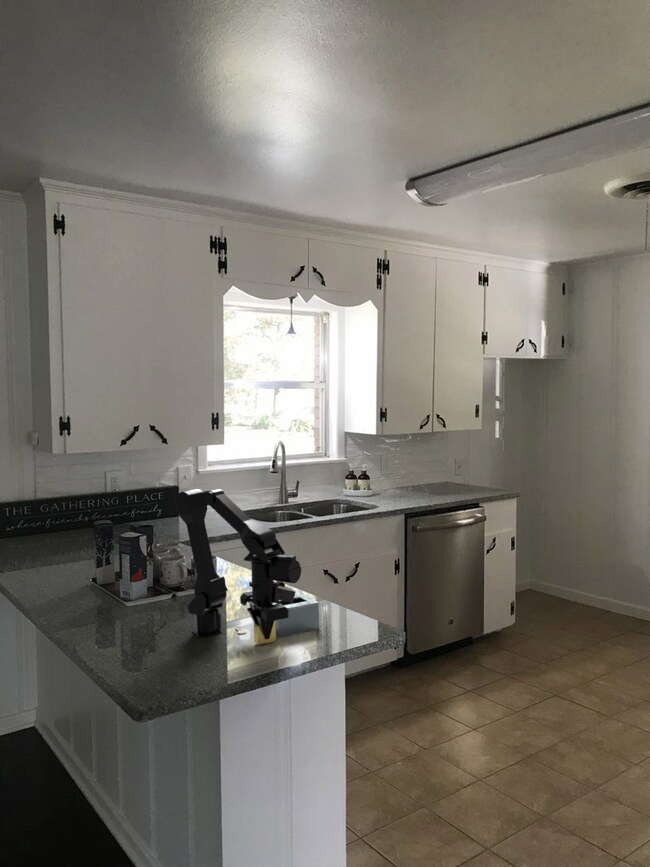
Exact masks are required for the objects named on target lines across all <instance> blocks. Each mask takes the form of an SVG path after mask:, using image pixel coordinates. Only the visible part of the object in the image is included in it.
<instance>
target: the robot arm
mask: <svg viewBox="0 0 650 867" xmlns="http://www.w3.org/2000/svg"><path fill="white" fill-rule="evenodd" d="M174 505H175V508H176V511H177V514H178V516H179V518H181V520H182V522H184V524H186V528H187V534H188V538H189V544H190V549H191V552H192V558H193V562H194V567H195V572H196V580H195V583H194V586H193V590H194V592H193V593H194V598H193V599H192V600H191V601H190V602H189V603H188V604H187V609H188V613H189V614H191V615H192V616H193V628H192V629H191V630H192V631H191V632H192V633H194V634H195V635H196V636H197V637H198V638H205V637H209V636H213V635H214V636H215V635H218V634H219V635H220V634H222V632H223V631H222V621H221V620H222V619H221V618H222V617H221V613H220V612H219V610H220V609H221V608H222V607H223V604H224V602H225V601H226V600H225V599H226V598H227V592H228V591H229V590H228V588H227V585H226V578H225V577H224V576H223V575H222V576H220V575H219V574H218V573H217V572H216V569H215V564H214V560H213V559H214V558H213V555H212V550H211V545H210V541H209V536H208V532H207V527H206V522H205V520H206V515H207V512H208V506H209V507H210V508H212V510H214V511H215V512H216V513H217V514H218V515H219V516H220V517H221V518H222V519H223V520H224V521H225V522H226V523H227V524H228V525H229V526H230V527H232V528H233V530H235V531H236V533H238V535H239V536H240V540H241V543H242V544H243V546H244V547H245V548H246V550H247V551H248V554H247V555H246V556H245V557H244V558H243V561H245V562H250V568H251V581H249V582H248V584H249V587H250V588H251V590H250V591H247V592H246V591H245V592H242V594H241V595H239V596H240V597H239V598H240V599H239V602H240V604H241V605H242V606H247V604H249V607H248V608H246V610H247V612H248V614H249V615H250V618H251V619H252V621H253V624H254V623H257V622H259V624H260V627H261V630H262V633H263V635H264V638H265V639H266V640H267V639H269V638H270V635H271V631H272V627H273V624H274V621H275V620H280V619H285V618H289V609H288V608H286V607H285V606H283V605H282V604H274V605H272V604H273V603H279V600H282V601H287V602H289V603H293V600H294V597H295V595H296V594H297V593H296V591H295V590H294V589H292V588H291V587H288V586H286V583H289V584H296V583H298V582H299V580H300V579H301V575H302V567H301V564H300V562H299V561H298V560H297V556H296V555H293V554H292V555H291V554H290V555H286V552H285V551H284V549H283V547H282V545H281V544H280V542H279V541H278V539H277V538H276V537H277V535H276V533H275V532H274V531H273V530H272V529H270V528H268V527H267V526H266V525H265V524H262V523H260V522H257V521H254V520H253V519H252V518H251V517H249V516H248V515H247V514H246V512H244V511H243V510H242V509H241V508H240V507H239V506H238V505H237V504H236V503H234V501H232V500H231V499H230V498H229V497H228V496H227V495H226V494H225V491H224V490H222V489H221V488H215V489H211V490H205V491H202V489H200V488H194V489H193V488H192V489H189V490H184V491H181V492H178V493H177V495H176V496H175V498H174Z"/></svg>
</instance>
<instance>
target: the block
mask: <svg viewBox="0 0 650 867" xmlns="http://www.w3.org/2000/svg"><path fill="white" fill-rule="evenodd" d="M253 634H254V635H253V638H254V643H255V644H256V645H258V646H260V645H265V644H269V643H273V642H274V643H275V642H276V641H277V635H276V628H275V622H274V624H273V627H272V631H271V635H270V638H269V639H267V640H266V639H265V638H264V635H263V633H262V630H261V627H260V624H259V622H257V623H254V622H253Z"/></svg>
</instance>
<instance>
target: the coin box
mask: <svg viewBox="0 0 650 867" xmlns="http://www.w3.org/2000/svg"><path fill="white" fill-rule="evenodd" d="M319 603H320V602H318V600H315V599H314V598H312V597H309V596H308V595H306V594H304V593H298V594H297V593H296V594H295V597H294V600H293V603H289V602H287V601H282V600H279V603H273V604H272V605H274V604H282V605H283V606H285V607H286V608H288V609H289V618H285V619H280V620H275V621H274V622H275V628H276V637H278V638H282V637H286V636H287V637H288V636H292V635H297V634H301V633H306V632H310V631H312V632H313V631H316V630H319V629H320V606H319V605H320V604H319Z"/></svg>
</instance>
